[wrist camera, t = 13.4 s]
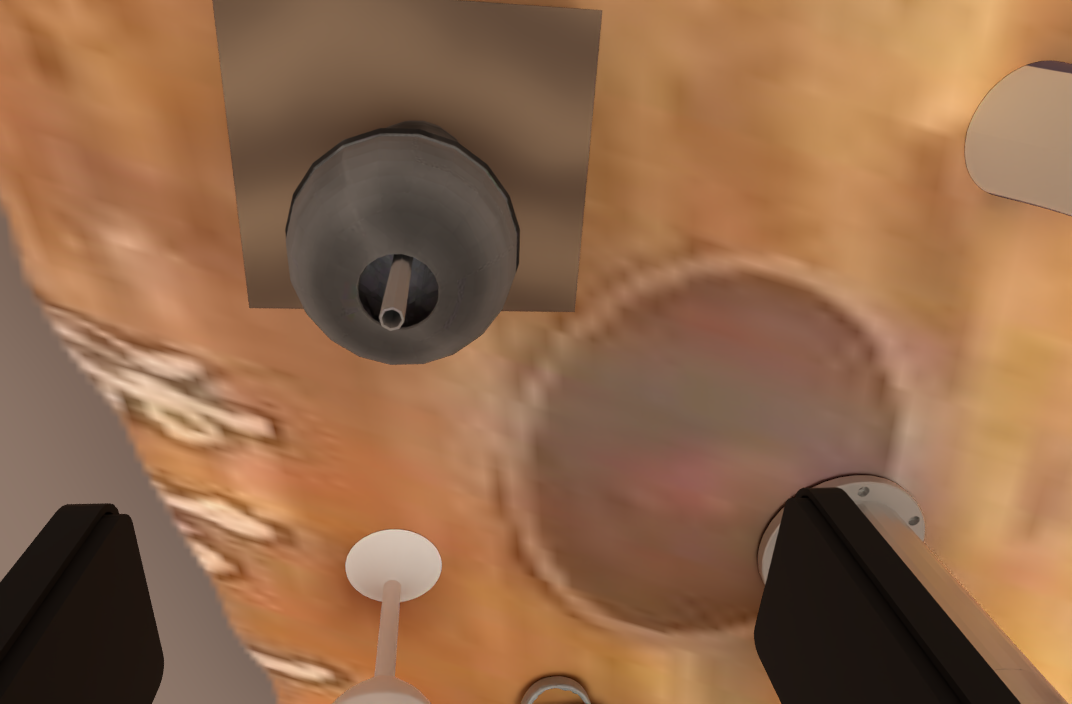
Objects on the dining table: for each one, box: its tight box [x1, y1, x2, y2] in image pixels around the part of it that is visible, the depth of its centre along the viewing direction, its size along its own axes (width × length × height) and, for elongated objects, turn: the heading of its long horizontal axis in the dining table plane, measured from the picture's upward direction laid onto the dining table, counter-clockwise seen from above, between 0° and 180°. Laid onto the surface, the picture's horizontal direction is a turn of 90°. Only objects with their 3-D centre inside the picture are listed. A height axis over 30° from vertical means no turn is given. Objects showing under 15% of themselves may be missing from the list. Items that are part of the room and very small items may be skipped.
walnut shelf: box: [212, 0, 602, 312], centre depth 35 cm, size 14×16×6 cm
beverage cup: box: [285, 121, 520, 365], centre depth 24 cm, size 7×7×20 cm
